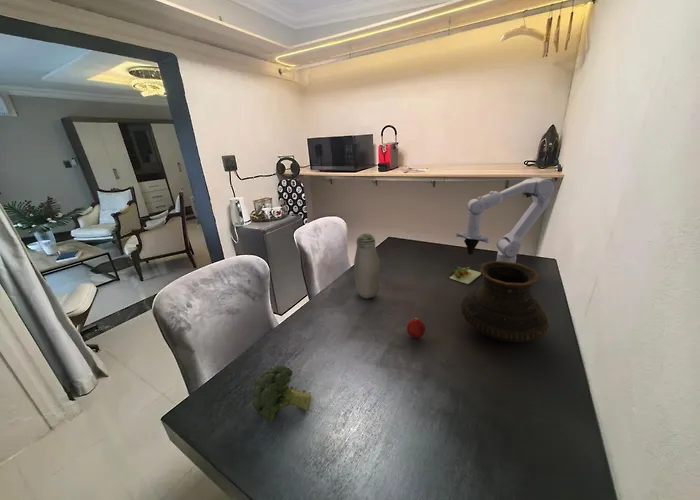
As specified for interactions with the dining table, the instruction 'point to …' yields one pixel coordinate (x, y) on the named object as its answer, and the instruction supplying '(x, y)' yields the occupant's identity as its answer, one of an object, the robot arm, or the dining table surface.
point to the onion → (416, 328)
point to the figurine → (461, 272)
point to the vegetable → (277, 393)
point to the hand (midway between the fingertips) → (470, 253)
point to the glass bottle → (366, 267)
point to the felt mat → (467, 277)
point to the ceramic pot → (506, 304)
